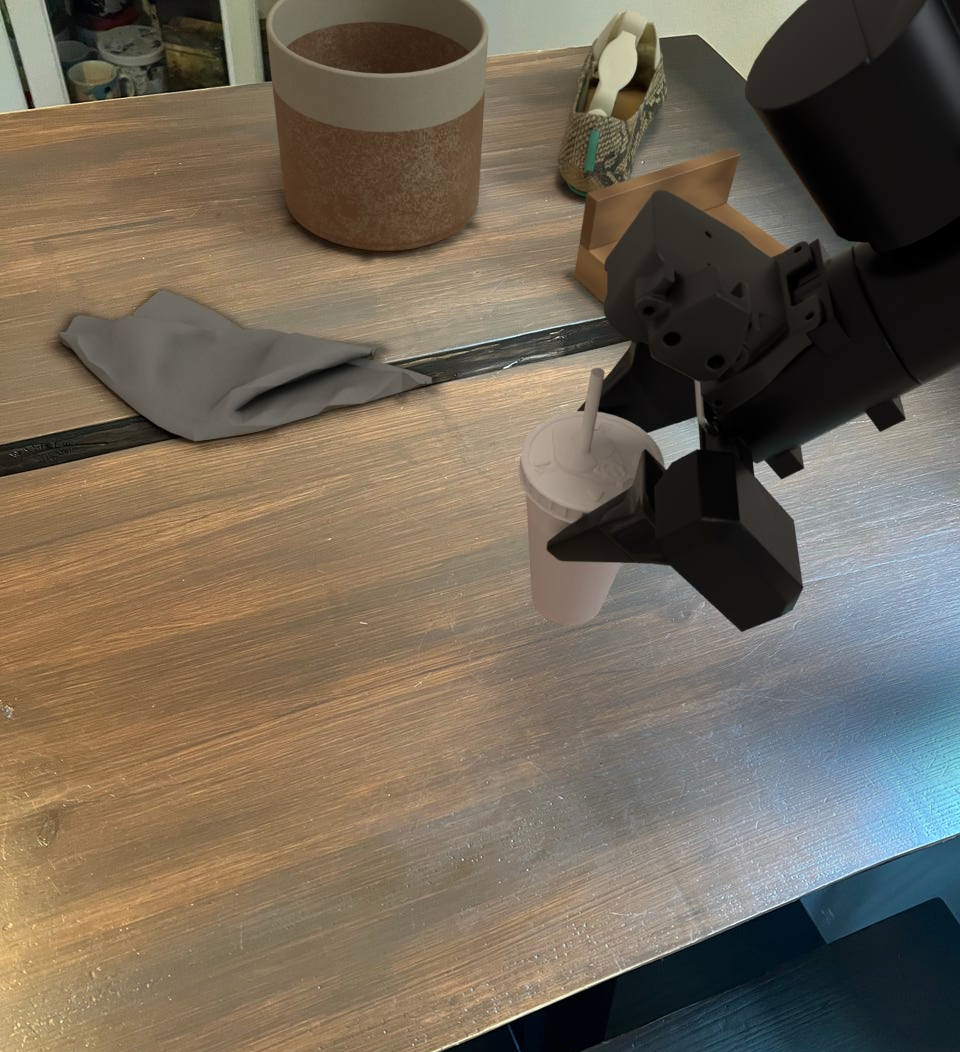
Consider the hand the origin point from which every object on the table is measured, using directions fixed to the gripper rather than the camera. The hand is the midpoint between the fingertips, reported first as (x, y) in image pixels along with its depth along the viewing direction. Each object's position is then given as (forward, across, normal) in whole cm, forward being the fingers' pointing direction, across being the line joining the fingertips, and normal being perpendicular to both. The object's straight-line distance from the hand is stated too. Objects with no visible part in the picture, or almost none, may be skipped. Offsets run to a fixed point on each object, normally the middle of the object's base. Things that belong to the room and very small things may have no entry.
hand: (555, 497), depth 45 cm
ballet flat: (+7, -59, +12) cm, 61 cm away
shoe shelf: (0, -33, +19) cm, 38 cm away
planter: (+20, -45, -1) cm, 49 cm away
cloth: (+25, -21, -6) cm, 33 cm away
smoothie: (+4, 0, +6) cm, 7 cm away
